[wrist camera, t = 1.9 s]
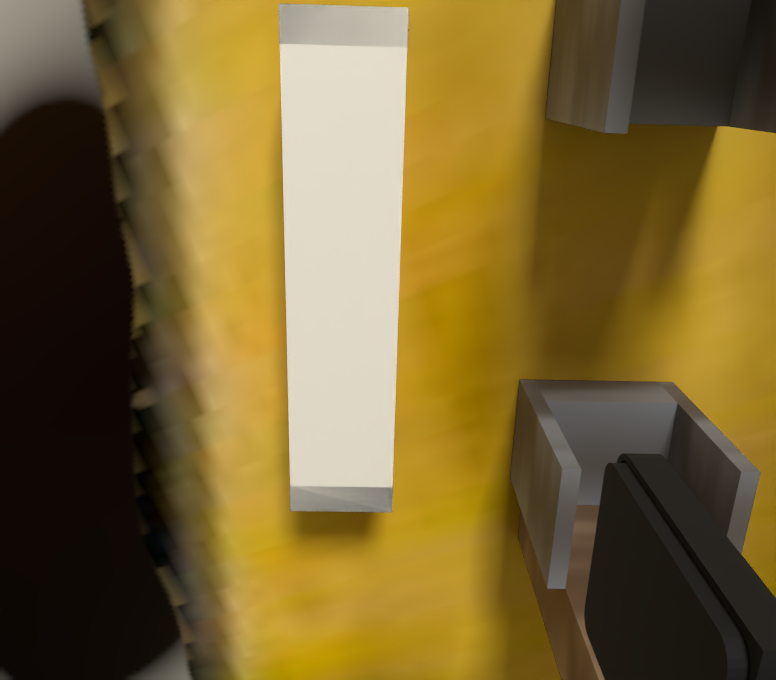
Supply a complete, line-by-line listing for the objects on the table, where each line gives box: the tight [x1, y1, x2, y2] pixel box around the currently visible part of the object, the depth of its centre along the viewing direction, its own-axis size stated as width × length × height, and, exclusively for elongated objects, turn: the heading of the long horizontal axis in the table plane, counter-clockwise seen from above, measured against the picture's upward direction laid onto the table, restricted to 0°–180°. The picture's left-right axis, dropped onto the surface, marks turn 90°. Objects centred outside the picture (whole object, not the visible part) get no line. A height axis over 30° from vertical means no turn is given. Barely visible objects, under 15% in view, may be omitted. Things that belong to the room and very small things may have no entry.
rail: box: [279, 4, 409, 512], centre depth 24 cm, size 16×4×5 cm, turn 178°
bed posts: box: [510, 0, 776, 680], centre depth 20 cm, size 25×6×16 cm, turn 178°
